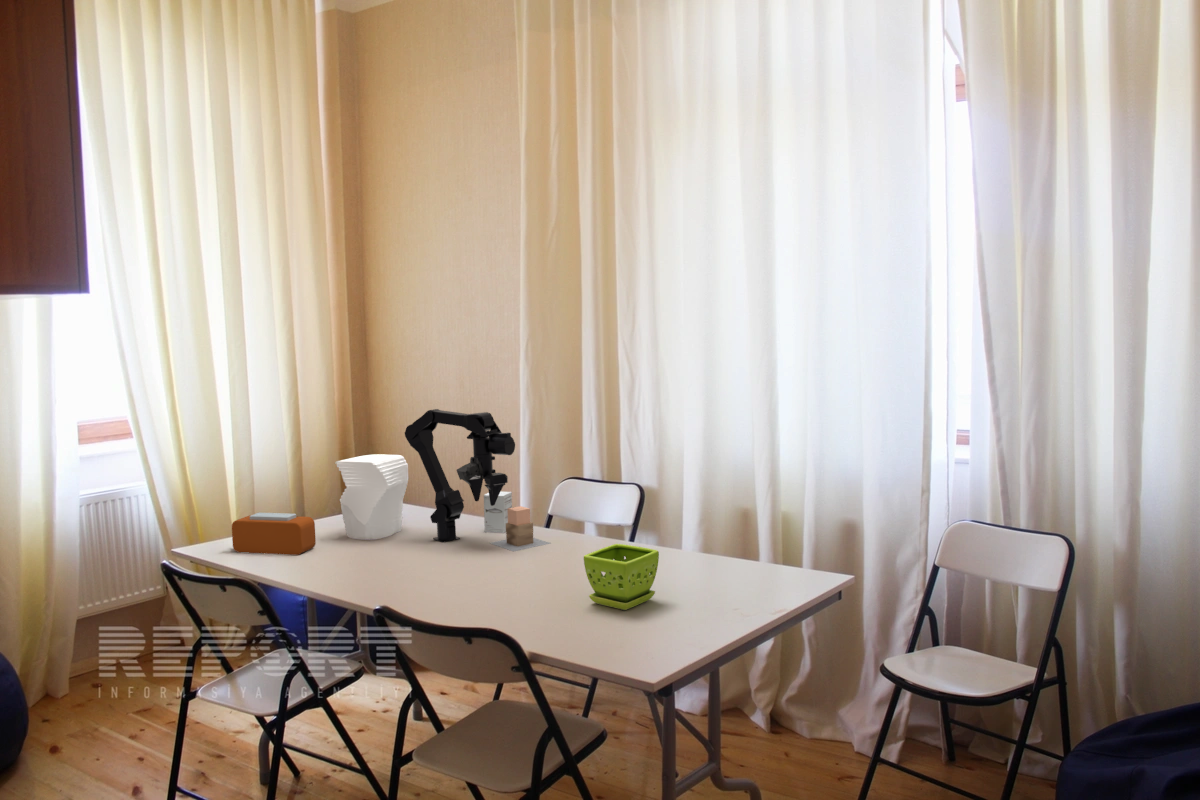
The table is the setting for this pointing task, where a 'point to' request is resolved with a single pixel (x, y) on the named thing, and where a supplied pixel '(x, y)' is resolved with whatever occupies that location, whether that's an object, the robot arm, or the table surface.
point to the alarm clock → (273, 534)
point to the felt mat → (514, 548)
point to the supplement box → (497, 512)
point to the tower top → (519, 529)
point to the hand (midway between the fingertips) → (484, 503)
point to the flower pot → (621, 575)
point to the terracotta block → (518, 515)
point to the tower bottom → (519, 539)
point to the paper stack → (373, 495)
